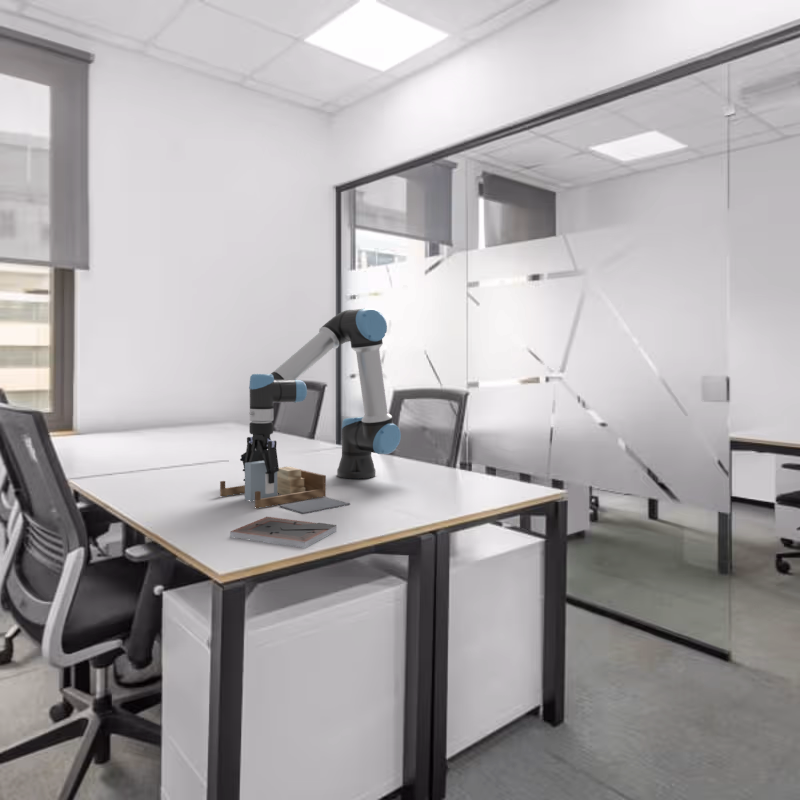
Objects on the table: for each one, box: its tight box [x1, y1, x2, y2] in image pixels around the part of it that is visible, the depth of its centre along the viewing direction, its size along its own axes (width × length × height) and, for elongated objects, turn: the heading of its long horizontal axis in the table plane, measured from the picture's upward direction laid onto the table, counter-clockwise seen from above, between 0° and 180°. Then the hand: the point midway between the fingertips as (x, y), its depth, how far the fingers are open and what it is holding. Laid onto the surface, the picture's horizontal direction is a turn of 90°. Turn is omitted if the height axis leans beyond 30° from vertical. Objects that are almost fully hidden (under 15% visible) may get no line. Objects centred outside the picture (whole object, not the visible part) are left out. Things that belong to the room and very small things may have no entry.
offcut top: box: [277, 466, 302, 480], centre depth 208 cm, size 5×7×3 cm
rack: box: [219, 469, 327, 509], centre depth 204 cm, size 26×22×7 cm
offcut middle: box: [277, 477, 304, 490], centre depth 209 cm, size 6×9×3 cm, turn 49°
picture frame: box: [229, 516, 337, 549], centre depth 160 cm, size 16×2×22 cm
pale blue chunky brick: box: [244, 461, 278, 502], centre depth 200 cm, size 10×4×12 cm, turn 135°
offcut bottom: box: [277, 487, 305, 495], centre depth 209 cm, size 6×10×3 cm, turn 44°
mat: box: [279, 496, 351, 515], centre depth 192 cm, size 18×12×1 cm, turn 135°
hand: (261, 490), depth 201 cm, fingers open, 9 cm apart
